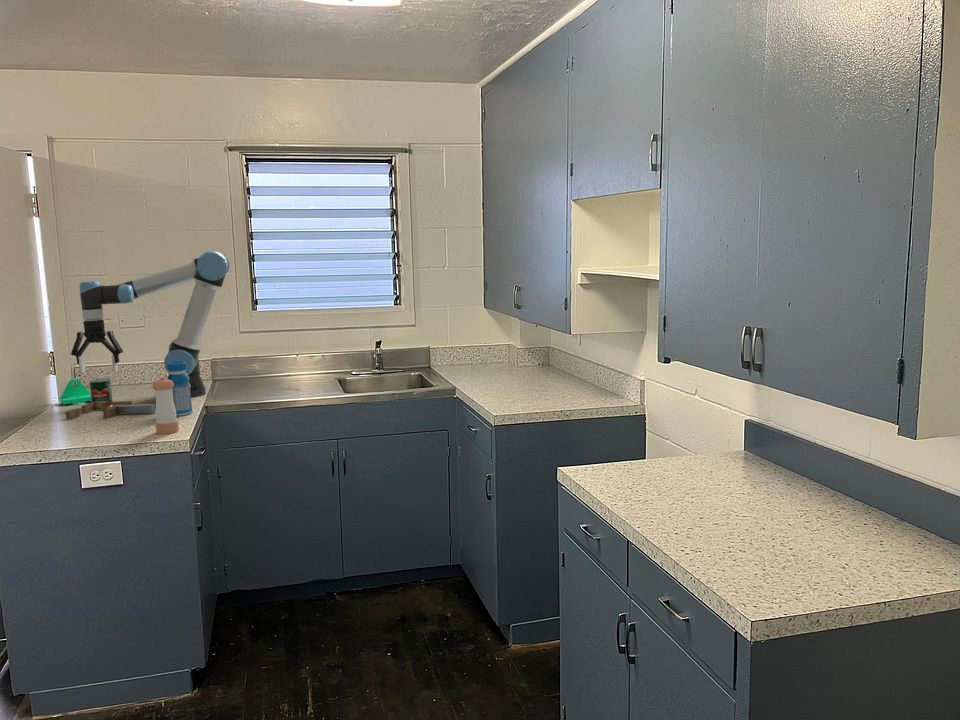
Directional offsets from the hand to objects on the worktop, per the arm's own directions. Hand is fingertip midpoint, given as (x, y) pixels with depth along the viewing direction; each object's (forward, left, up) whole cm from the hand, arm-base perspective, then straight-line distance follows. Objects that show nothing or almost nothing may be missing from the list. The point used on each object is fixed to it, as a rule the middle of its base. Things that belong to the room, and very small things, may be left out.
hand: (99, 371), depth 324 cm
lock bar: (-20, +15, -15) cm, 29 cm away
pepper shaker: (-48, +48, -15) cm, 69 cm away
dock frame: (-6, +15, -15) cm, 22 cm away
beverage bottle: (-40, +18, -15) cm, 47 cm away
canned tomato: (+1, -1, -15) cm, 15 cm away
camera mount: (+16, -10, -15) cm, 24 cm away
